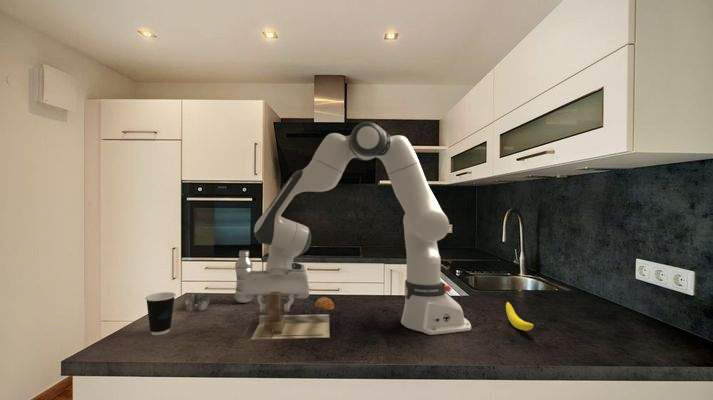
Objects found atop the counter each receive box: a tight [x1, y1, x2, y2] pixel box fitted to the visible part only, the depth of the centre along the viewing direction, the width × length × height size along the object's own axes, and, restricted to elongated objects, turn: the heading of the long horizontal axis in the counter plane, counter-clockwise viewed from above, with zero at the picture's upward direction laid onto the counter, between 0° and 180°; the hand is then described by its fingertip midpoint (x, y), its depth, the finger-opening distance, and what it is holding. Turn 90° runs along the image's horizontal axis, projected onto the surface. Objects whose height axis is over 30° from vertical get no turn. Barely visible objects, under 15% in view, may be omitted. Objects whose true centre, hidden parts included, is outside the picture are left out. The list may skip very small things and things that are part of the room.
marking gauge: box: [264, 292, 286, 335], centre depth 100 cm, size 5×8×11 cm, turn 5°
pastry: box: [314, 296, 335, 311], centre depth 123 cm, size 9×7×4 cm
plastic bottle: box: [234, 249, 254, 304], centre depth 131 cm, size 6×7×20 cm
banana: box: [505, 300, 534, 332], centre depth 108 cm, size 3×19×6 cm, turn 178°
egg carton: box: [184, 293, 211, 312], centre depth 125 cm, size 11×8×4 cm
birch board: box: [250, 313, 330, 340], centre depth 101 cm, size 22×13×4 cm, turn 95°
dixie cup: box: [145, 291, 176, 336], centre depth 101 cm, size 8×8×11 cm
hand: (274, 310), depth 100 cm, fingers open, 6 cm apart
